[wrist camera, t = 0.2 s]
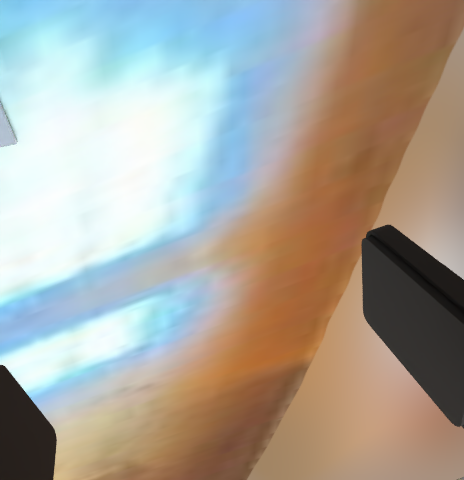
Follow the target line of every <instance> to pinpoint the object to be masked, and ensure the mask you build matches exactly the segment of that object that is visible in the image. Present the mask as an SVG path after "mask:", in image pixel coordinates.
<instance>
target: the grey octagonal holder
mask: <svg viewBox="0 0 464 480" xmlns="http://www.w3.org/2000/svg"><path fill="white" fill-rule="evenodd" d="M14 144H17V140H16V137H15V135H14V133H13V130H12V128H11V126H10V123H9V121H8V119H7V116H6V114H5V112H4V109H3V107H2V105H1V102H0V147H4V146H9V145H14Z"/></svg>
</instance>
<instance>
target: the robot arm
mask: <svg viewBox="0 0 464 480" xmlns="http://www.w3.org/2000/svg"><path fill="white" fill-rule="evenodd" d="M362 283H363V313H364V317H365V319H366V321H367V322H368V324H369V325H370V326H371V327H372V329H373V330H374V331H375V332H376V333H377V335H378V336H379V337H380V338H381V339H382V341H383V342H384V343H385V344H386V345H387V347H388V348H389V349H390V350H391V351H392V352H393V354H394V355H395V356H396V357H397V359H398V360H399V361H400V362H401V363H402V364H403V365H404V367H405V368H406V369H407V370H408V372H409V373H410V374H411V375H412V376H413V378H414V379H415V380H416V381H417V382H418V384H419V385H420V386H421V387H422V388H423V389H424V391H425V392H426V393H427V394H428V395H429V396H430V398H431V399H432V400H433V401H434V403H435V404H436V405H437V406H438V407H439V409H440V410H441V411H442V412H443V413H444V414H445V416H446V417H447V418H448V419H449V420H450V421H451V423H452V424H454V425H455V426H458V427H459V426H462V427H463V428H464V280H463V279H462V278H461V277H459V276H458V275H457V274H455V273H454V272H453V271H451V270H450V269H449V268H447V267H446V266H445V265H443V264H442V263H440V262H439V261H438V260H436V259H435V258H434V257H432V256H431V255H430V254H428V253H427V252H426V251H425V250H423V249H422V248H421V247H419V246H418V245H417V244H415V243H414V242H413V241H411V240H410V239H409V238H408V237H406V236H405V235H403V234H402V233H401V232H400V231H398V230H397V229H396V228H394V227H393V226H391V225H385V226H382V227H380V228H377V229H374V230H371V231H369V232H367V234H366V238H364V239H363V240H362ZM56 441H57V439H56V433H55V430H54V428H53V427H52V425H51V424H50V423H49V421H48V420H47V419H46V418H45V416H44V415H43V414H42V413H41V411H40V410H39V409H38V408H37V406H36V405H35V404H34V402H33V401H32V400H31V399H30V397H29V396H28V395H27V394H26V392H25V391H24V390H23V388H22V387H21V386H20V385H19V383H18V382H17V381H16V380H15V378H14V377H13V376H12V375H11V373H10V372H9V371H8V369H7V368H6V367H5V366H3V365H0V480H53V476H54V465H55V454H56ZM458 480H464V477H463V478H460V479H458Z"/></svg>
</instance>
